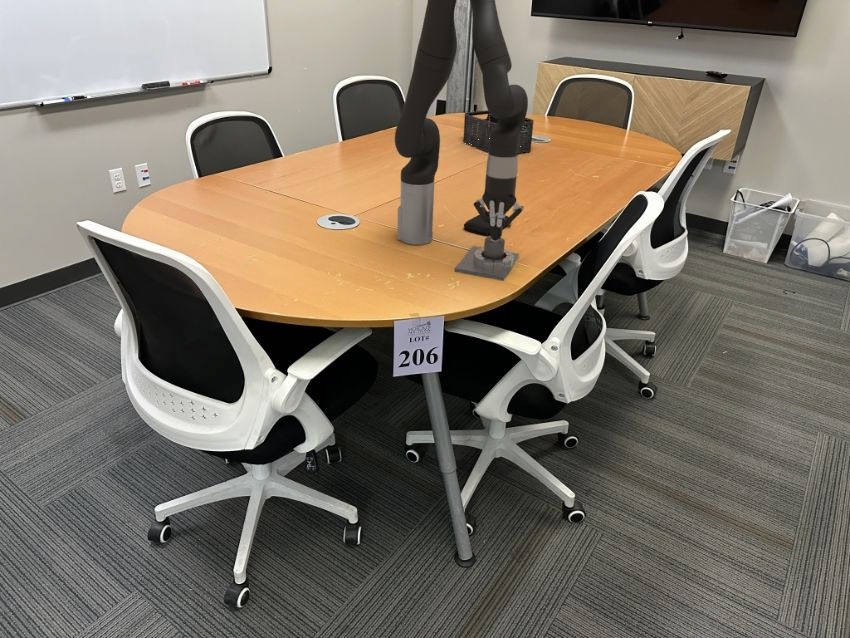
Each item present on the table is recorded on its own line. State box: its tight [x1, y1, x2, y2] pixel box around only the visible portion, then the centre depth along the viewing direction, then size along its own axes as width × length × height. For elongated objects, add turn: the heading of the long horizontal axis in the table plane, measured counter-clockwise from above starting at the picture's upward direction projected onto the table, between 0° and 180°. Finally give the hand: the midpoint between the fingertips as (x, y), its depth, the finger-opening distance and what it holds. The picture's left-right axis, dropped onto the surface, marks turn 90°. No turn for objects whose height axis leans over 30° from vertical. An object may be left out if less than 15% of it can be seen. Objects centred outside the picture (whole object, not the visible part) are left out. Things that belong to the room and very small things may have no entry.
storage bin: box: [462, 109, 535, 154], centre depth 267 cm, size 29×19×13 cm
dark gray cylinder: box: [483, 236, 506, 260], centre depth 159 cm, size 5×5×6 cm
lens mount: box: [454, 245, 520, 282], centre depth 161 cm, size 13×16×3 cm
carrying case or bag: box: [463, 210, 512, 237], centre depth 184 cm, size 11×3×15 cm
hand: (495, 239), depth 157 cm, fingers closed
